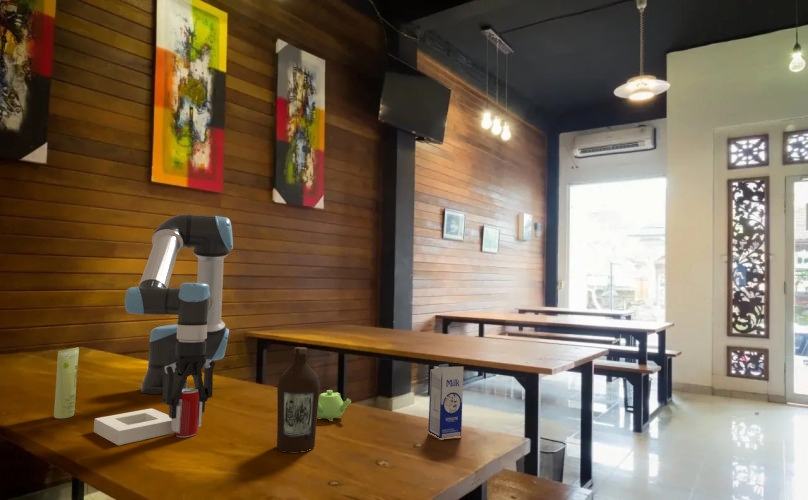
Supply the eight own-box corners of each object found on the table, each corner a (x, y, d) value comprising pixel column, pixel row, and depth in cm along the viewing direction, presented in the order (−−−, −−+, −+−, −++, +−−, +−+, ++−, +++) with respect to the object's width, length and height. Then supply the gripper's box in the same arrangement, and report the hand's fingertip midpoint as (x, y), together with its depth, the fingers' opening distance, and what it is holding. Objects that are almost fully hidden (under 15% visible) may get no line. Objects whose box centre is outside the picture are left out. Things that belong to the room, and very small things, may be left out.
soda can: (201, 433, 136) (204, 388, 136) (186, 439, 131) (189, 392, 131) (185, 430, 138) (187, 386, 138) (169, 436, 132) (172, 390, 133)
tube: (74, 418, 145) (79, 349, 146) (52, 420, 142) (58, 350, 143) (74, 413, 149) (78, 347, 150) (53, 415, 147) (58, 347, 148)
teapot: (342, 412, 162) (343, 385, 162) (351, 422, 151) (352, 394, 151) (307, 414, 158) (308, 387, 158) (313, 425, 147) (315, 395, 148)
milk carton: (440, 441, 137) (442, 366, 138) (427, 433, 143) (430, 362, 144) (461, 438, 140) (464, 365, 141) (448, 431, 146) (451, 361, 147)
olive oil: (274, 441, 132) (279, 344, 133) (315, 439, 134) (320, 345, 135) (273, 455, 121) (279, 351, 123) (318, 453, 124) (323, 351, 125)
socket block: (151, 420, 145) (151, 408, 145) (177, 432, 136) (178, 419, 136) (93, 431, 133) (94, 418, 134) (118, 445, 124) (119, 431, 124)
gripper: (215, 336, 145) (210, 418, 144) (150, 341, 130) (144, 432, 129) (229, 339, 140) (225, 423, 139) (164, 344, 126) (158, 439, 125)
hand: (186, 427), depth 134 cm, fingers closed on soda can, 5 cm apart
